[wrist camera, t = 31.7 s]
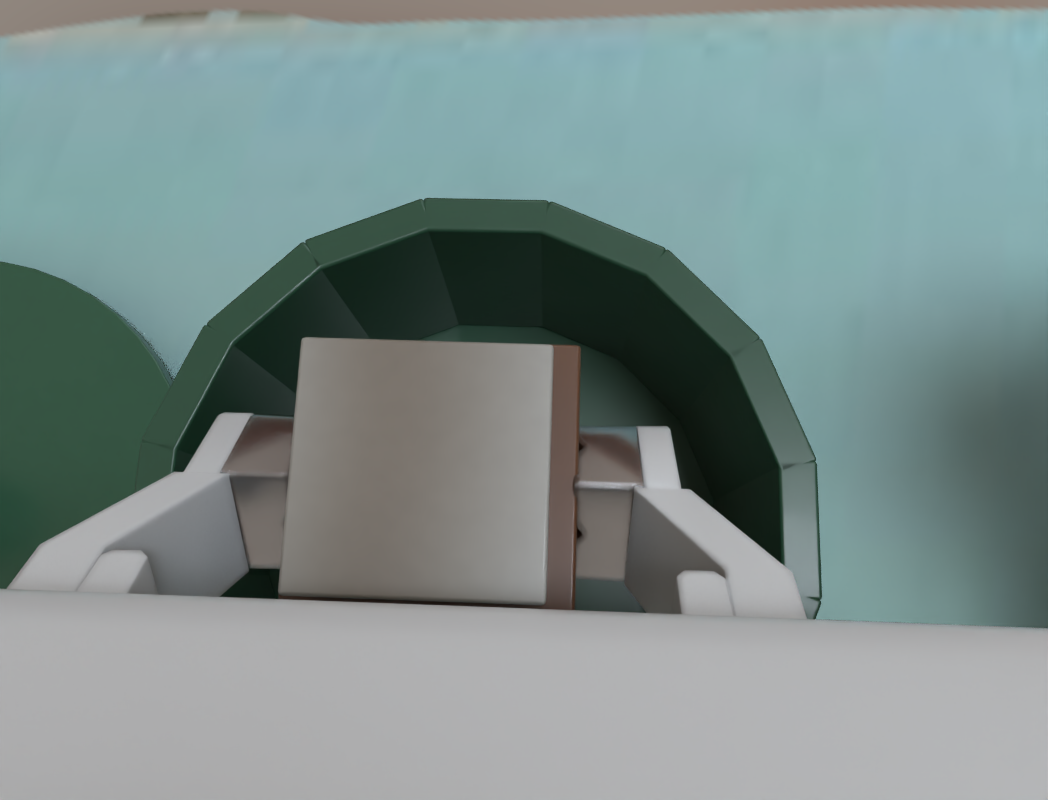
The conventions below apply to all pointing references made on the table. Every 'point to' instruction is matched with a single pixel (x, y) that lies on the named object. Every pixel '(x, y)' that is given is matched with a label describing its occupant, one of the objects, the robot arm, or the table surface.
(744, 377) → the pot
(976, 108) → the table surface
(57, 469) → the pot lid
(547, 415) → the brown and white block
